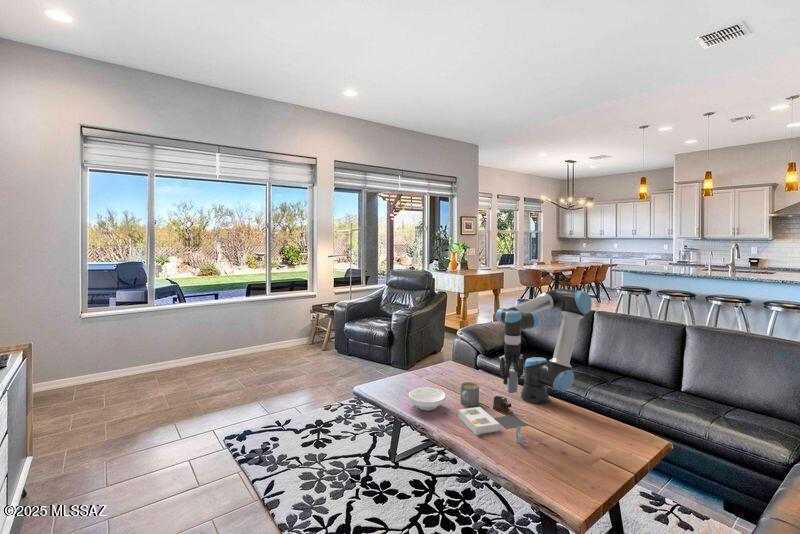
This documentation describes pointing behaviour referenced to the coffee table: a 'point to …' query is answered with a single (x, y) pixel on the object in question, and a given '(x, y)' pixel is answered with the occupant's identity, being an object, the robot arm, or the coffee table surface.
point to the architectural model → (518, 437)
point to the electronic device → (501, 404)
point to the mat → (510, 421)
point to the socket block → (478, 420)
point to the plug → (512, 381)
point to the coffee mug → (469, 394)
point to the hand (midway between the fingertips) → (510, 390)
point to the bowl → (427, 398)
